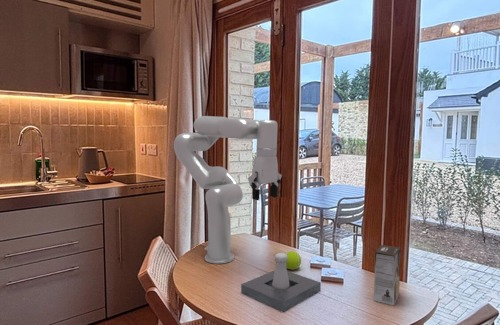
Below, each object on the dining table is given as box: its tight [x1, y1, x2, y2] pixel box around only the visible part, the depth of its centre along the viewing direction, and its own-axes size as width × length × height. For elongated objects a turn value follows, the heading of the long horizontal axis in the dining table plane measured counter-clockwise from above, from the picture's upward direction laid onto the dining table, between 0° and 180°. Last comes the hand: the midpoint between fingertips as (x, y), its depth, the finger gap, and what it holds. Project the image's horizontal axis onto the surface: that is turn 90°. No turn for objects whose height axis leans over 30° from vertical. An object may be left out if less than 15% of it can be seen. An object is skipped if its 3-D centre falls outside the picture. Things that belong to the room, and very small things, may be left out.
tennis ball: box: [285, 250, 302, 271], centre depth 136 cm, size 7×7×7 cm
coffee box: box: [373, 244, 402, 306], centre depth 111 cm, size 9×6×16 cm
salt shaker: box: [272, 252, 289, 291], centre depth 115 cm, size 6×6×13 cm
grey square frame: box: [240, 269, 322, 313], centre depth 115 cm, size 18×20×3 cm
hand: (264, 198), depth 131 cm, fingers open, 9 cm apart
